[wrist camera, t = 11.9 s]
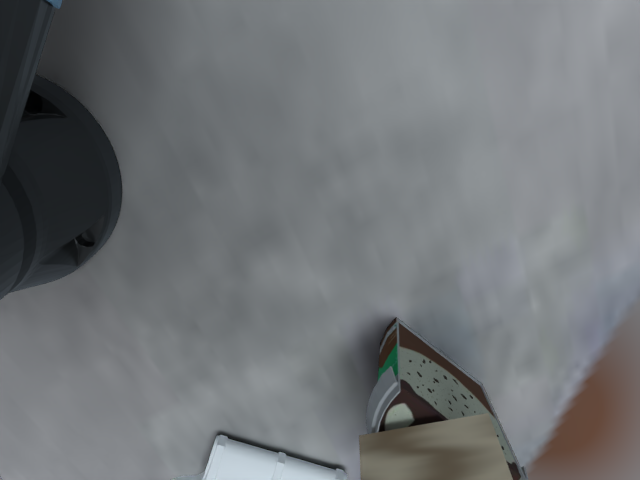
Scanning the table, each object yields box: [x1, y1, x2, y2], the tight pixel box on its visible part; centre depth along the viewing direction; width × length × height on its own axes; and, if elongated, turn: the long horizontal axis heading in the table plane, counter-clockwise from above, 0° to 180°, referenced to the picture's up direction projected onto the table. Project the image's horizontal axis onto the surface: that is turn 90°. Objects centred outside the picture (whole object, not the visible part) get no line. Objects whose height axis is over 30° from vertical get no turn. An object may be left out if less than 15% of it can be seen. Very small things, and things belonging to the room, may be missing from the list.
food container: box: [366, 317, 528, 480], centre depth 40 cm, size 12×6×10 cm, turn 50°
